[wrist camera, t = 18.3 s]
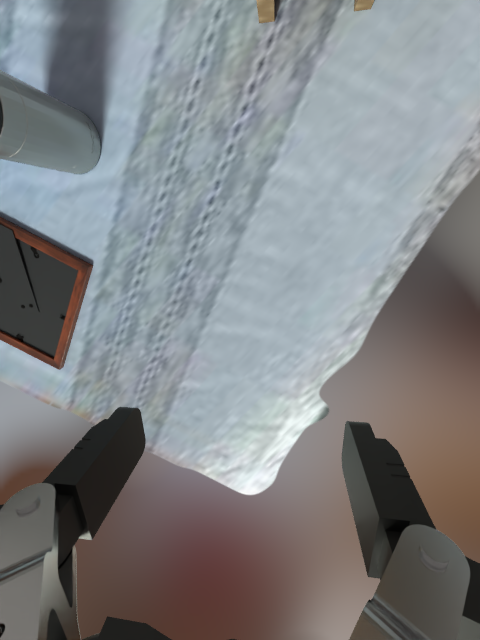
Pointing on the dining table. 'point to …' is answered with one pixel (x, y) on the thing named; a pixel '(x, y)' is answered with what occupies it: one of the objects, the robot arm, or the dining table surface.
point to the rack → (268, 8)
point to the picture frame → (39, 294)
